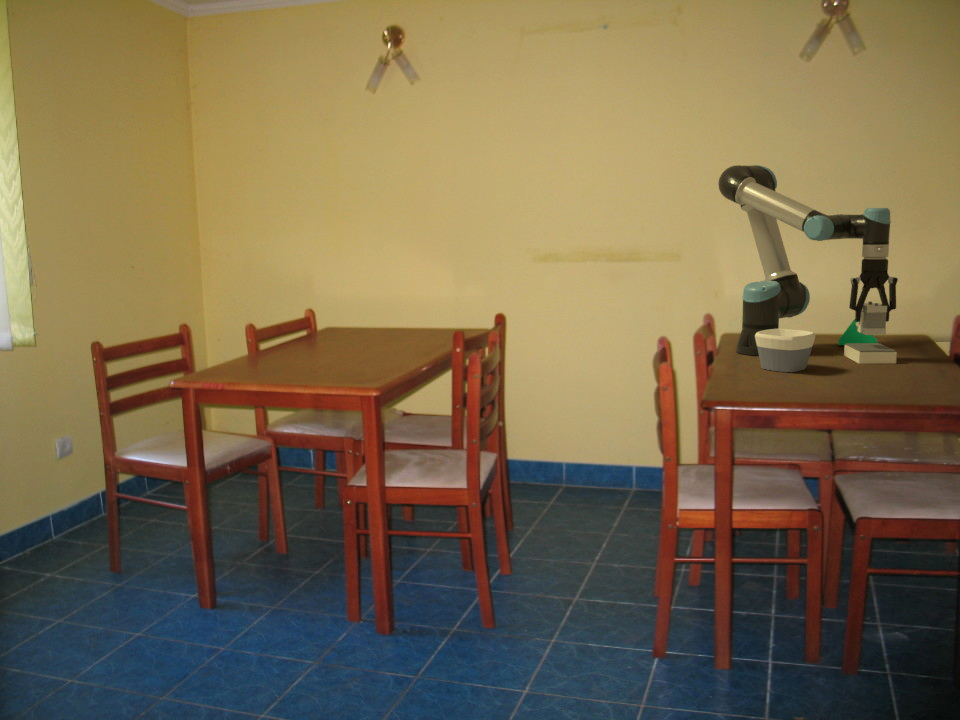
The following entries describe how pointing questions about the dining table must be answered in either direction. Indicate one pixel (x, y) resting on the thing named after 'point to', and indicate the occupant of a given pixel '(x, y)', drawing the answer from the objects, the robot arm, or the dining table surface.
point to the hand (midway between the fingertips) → (871, 331)
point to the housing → (874, 319)
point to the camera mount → (855, 336)
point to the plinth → (870, 353)
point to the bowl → (784, 349)
